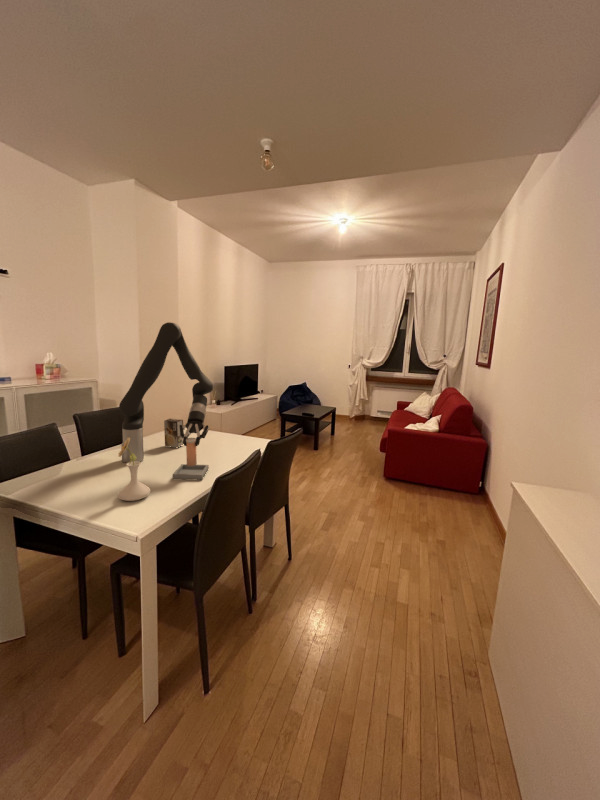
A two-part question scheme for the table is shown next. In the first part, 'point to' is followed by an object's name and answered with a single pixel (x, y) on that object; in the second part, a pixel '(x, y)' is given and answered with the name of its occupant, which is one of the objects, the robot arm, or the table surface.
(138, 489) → the flower in vase
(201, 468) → the tray
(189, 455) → the shaker
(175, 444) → the coffee box
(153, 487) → the table surface
